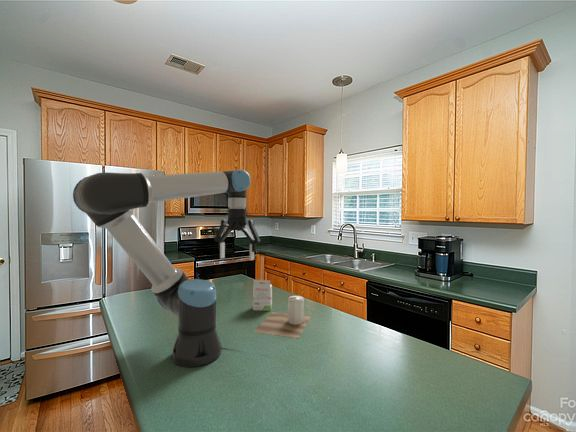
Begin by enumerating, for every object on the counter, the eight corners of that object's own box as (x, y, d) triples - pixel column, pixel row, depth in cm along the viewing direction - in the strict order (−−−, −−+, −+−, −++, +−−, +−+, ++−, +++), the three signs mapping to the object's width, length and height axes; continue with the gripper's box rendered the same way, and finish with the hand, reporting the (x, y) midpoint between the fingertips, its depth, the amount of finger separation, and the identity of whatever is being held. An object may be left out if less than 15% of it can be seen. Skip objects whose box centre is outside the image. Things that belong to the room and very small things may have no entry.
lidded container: (301, 317, 122) (301, 294, 122) (305, 323, 116) (305, 299, 116) (286, 318, 121) (286, 295, 121) (290, 324, 115) (290, 300, 115)
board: (298, 339, 103) (298, 324, 103) (253, 333, 108) (253, 318, 108) (310, 317, 124) (311, 305, 124) (272, 313, 129) (272, 301, 129)
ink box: (272, 308, 136) (272, 277, 135) (270, 312, 131) (270, 280, 130) (254, 307, 136) (254, 277, 136) (252, 311, 132) (252, 279, 131)
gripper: (268, 208, 118) (267, 259, 118) (215, 208, 125) (215, 255, 125) (261, 208, 111) (261, 262, 111) (205, 208, 118) (205, 258, 118)
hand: (236, 258), depth 118 cm, fingers open, 13 cm apart
